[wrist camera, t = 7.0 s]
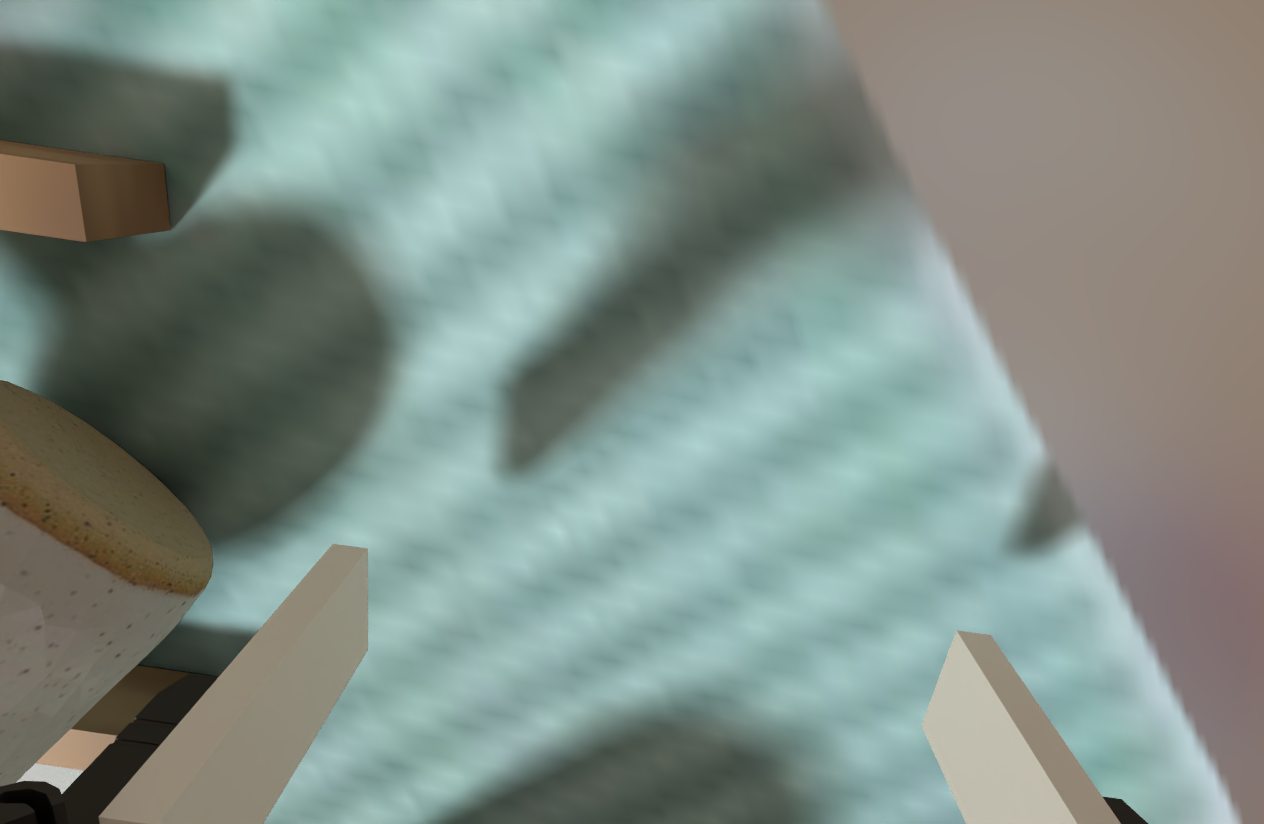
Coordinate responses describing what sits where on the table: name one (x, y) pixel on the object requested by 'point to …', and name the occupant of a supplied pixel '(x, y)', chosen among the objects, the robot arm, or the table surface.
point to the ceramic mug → (79, 571)
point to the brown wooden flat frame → (87, 211)
